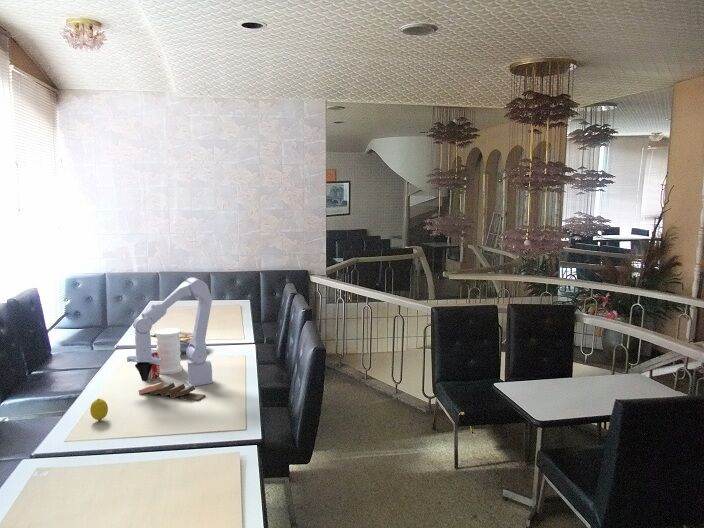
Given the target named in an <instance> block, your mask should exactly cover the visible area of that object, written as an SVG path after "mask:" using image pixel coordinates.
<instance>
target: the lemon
mask: <svg viewBox="0 0 704 528" xmlns="http://www.w3.org/2000/svg"><path fill="white" fill-rule="evenodd" d="M89 410H90V411H89V412H90V415H91V417H92V418H93V419H94V420H96V421H99V422H100V421H102V420H103V419H105V418H106V417H107V415H108V412H109V406H108V404H107V401H106V400H104V399H101V398H97V399H96V400H94V401H93V402H92V403H91V405H90V409H89Z"/></svg>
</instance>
